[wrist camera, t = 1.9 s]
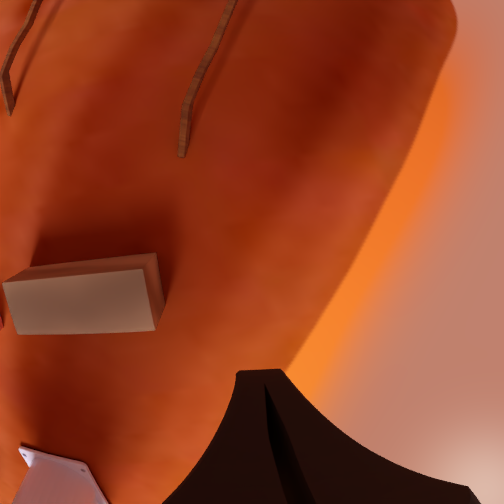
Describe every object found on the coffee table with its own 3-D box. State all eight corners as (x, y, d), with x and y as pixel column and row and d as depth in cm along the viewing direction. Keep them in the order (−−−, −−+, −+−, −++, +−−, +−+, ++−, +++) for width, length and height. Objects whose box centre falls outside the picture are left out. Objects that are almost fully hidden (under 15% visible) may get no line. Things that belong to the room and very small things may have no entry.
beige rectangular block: (165, 303, 18) (155, 330, 15) (42, 311, 18) (17, 334, 15) (157, 251, 18) (142, 268, 14) (31, 266, 17) (1, 282, 14)
